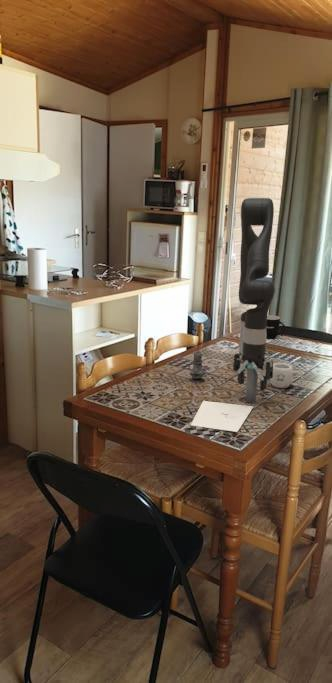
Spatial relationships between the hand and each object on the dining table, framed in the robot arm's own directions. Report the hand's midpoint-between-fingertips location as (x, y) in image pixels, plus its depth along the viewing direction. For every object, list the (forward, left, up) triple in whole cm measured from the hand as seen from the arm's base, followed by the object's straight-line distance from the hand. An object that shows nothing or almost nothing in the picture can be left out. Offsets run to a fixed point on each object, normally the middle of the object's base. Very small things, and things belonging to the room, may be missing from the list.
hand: (251, 386), depth 182 cm
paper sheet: (+19, -5, -6) cm, 21 cm away
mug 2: (-21, +1, -5) cm, 22 cm away
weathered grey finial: (-3, -26, -5) cm, 27 cm away
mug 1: (-77, -39, -5) cm, 86 cm away
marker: (0, 0, -5) cm, 5 cm away
